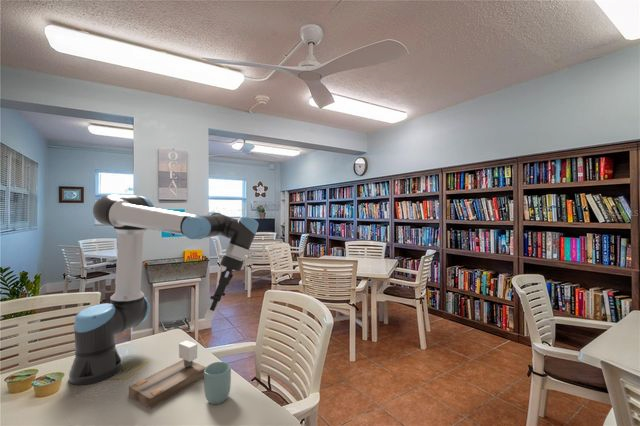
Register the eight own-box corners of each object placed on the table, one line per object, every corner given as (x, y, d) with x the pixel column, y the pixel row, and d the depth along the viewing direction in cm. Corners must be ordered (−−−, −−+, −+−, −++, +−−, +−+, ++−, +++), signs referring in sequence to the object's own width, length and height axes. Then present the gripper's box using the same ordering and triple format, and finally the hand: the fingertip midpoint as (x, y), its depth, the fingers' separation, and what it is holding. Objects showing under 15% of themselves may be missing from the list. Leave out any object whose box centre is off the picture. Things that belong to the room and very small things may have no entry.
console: (128, 395, 95) (128, 385, 94) (185, 366, 112) (185, 358, 112) (150, 408, 88) (150, 398, 88) (206, 375, 106) (206, 366, 106)
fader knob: (179, 364, 106) (178, 343, 106) (186, 361, 109) (186, 340, 109) (189, 369, 103) (189, 347, 103) (197, 365, 106) (197, 344, 106)
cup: (222, 409, 88) (222, 376, 88) (199, 406, 89) (198, 373, 89) (235, 393, 95) (235, 362, 95) (213, 390, 97) (213, 360, 97)
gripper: (244, 262, 97) (217, 327, 92) (243, 260, 121) (222, 312, 116) (222, 254, 95) (193, 319, 91) (226, 254, 119) (203, 306, 115)
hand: (209, 315), depth 103 cm, fingers open, 13 cm apart
